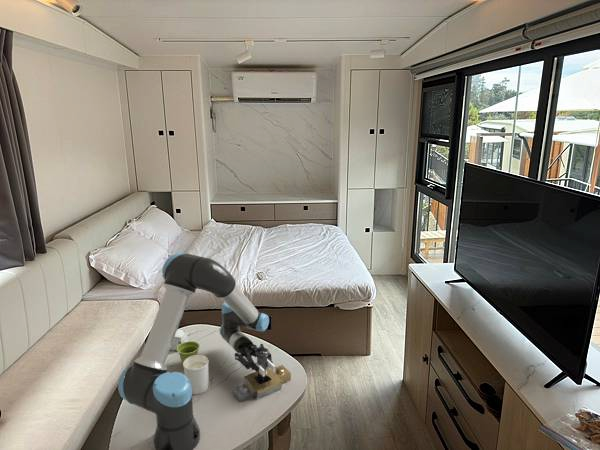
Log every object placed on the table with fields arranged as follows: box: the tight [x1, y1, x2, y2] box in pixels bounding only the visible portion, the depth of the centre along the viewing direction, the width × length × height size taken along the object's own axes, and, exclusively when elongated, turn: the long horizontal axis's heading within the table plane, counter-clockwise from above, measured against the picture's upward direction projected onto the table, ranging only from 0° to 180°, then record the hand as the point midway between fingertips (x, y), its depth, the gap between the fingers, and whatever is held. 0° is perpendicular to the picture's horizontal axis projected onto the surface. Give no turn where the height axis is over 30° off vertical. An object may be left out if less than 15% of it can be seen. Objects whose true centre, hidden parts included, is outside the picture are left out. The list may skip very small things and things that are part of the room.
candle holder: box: [182, 354, 210, 396], centre depth 166 cm, size 10×10×12 cm
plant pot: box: [176, 340, 200, 366], centre depth 182 cm, size 9×9×9 cm
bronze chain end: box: [243, 364, 292, 395], centre depth 170 cm, size 17×11×4 cm, turn 125°
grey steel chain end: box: [232, 380, 282, 403], centre depth 167 cm, size 17×11×3 cm, turn 125°
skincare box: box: [170, 329, 189, 351], centre depth 195 cm, size 6×6×7 cm
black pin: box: [255, 347, 270, 384], centre depth 167 cm, size 5×5×14 cm
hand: (269, 371), depth 162 cm, fingers closed on black pin, 4 cm apart
